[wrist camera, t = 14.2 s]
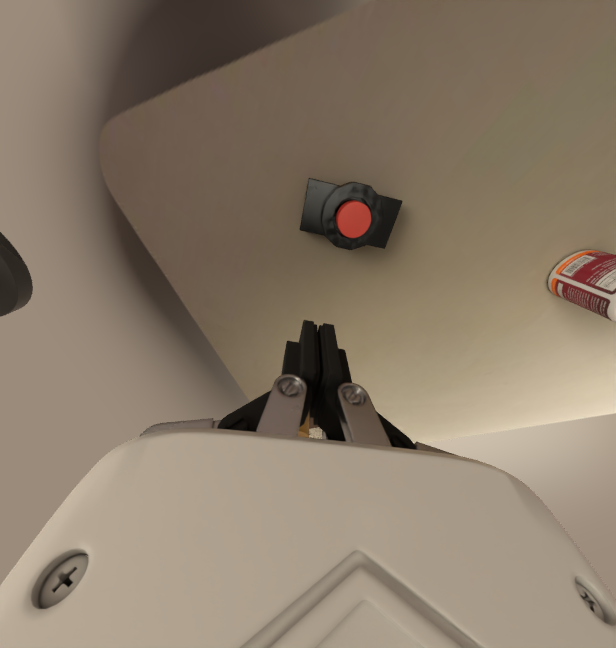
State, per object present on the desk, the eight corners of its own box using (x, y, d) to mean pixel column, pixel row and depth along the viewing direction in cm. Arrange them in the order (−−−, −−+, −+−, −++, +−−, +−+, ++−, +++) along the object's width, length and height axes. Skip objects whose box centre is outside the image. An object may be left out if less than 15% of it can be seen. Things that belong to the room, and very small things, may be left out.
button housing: (299, 231, 28) (298, 238, 24) (310, 172, 24) (310, 171, 21) (378, 248, 29) (387, 258, 25) (398, 193, 25) (411, 196, 22)
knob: (304, 402, 40) (304, 430, 36) (312, 416, 42) (312, 444, 38) (283, 407, 41) (280, 435, 37) (292, 420, 43) (289, 448, 39)
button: (332, 230, 24) (333, 234, 23) (340, 196, 22) (343, 198, 21) (361, 237, 24) (364, 241, 23) (371, 204, 23) (376, 206, 21)
